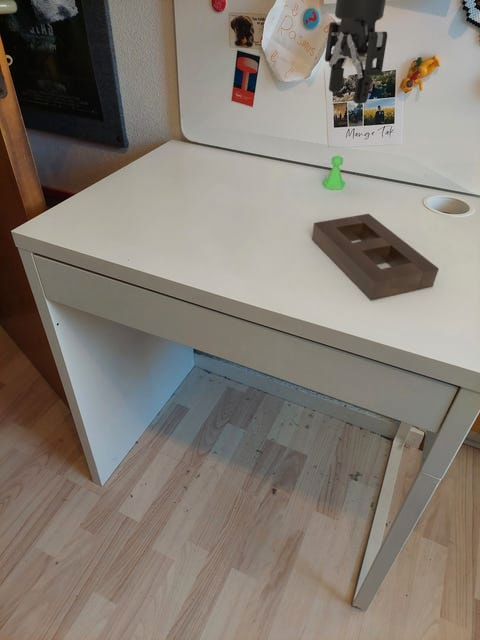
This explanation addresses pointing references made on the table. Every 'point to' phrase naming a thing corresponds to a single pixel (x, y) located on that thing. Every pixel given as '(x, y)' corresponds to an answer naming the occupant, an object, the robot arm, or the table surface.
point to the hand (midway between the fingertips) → (346, 96)
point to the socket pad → (373, 256)
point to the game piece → (335, 175)
